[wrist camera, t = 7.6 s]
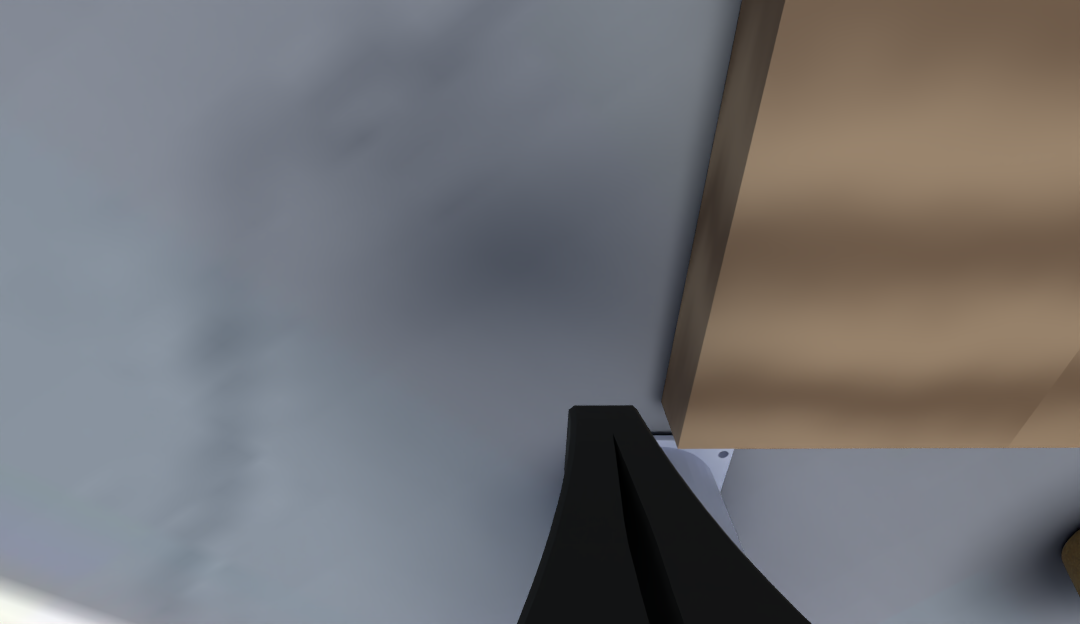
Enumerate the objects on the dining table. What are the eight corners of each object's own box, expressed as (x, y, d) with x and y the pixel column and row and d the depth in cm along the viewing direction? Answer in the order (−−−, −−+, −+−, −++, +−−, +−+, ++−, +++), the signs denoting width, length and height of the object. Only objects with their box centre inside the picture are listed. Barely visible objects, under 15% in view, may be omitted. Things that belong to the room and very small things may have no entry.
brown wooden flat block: (1097, 401, 25) (1164, 447, 22) (661, 401, 24) (677, 448, 21) (1455, -39, 15) (1641, -49, 13) (754, -63, 14) (804, -78, 12)
